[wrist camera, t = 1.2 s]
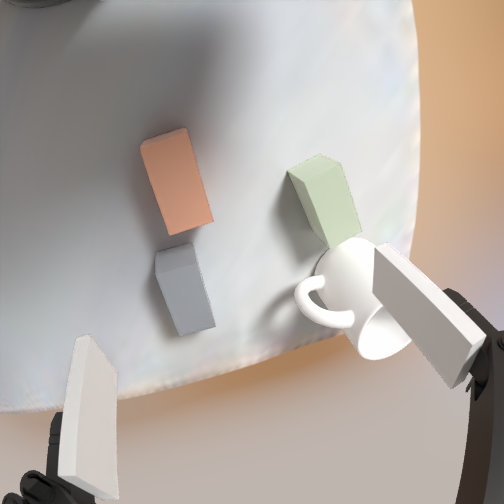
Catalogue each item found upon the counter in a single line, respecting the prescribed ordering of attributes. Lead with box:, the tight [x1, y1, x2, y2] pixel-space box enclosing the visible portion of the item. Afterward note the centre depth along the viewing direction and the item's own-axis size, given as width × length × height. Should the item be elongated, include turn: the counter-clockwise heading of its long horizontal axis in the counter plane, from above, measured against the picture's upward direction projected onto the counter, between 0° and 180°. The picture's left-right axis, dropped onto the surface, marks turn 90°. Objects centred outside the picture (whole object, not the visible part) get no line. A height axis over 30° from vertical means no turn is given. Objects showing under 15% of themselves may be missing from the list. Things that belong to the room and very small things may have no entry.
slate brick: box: [155, 242, 216, 336], centre depth 29 cm, size 7×4×4 cm, turn 10°
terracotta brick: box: [139, 127, 214, 236], centre depth 24 cm, size 7×4×4 cm, turn 14°
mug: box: [294, 238, 412, 360], centre depth 30 cm, size 12×8×10 cm
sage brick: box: [287, 154, 362, 250], centre depth 28 cm, size 7×4×4 cm, turn 26°
